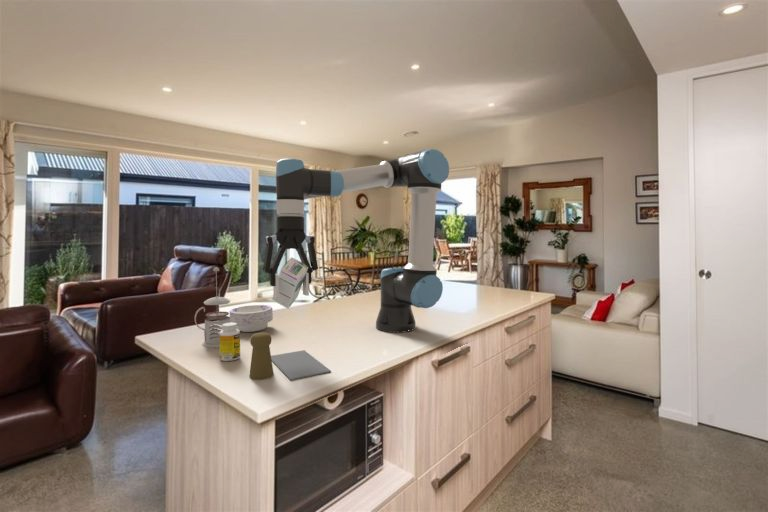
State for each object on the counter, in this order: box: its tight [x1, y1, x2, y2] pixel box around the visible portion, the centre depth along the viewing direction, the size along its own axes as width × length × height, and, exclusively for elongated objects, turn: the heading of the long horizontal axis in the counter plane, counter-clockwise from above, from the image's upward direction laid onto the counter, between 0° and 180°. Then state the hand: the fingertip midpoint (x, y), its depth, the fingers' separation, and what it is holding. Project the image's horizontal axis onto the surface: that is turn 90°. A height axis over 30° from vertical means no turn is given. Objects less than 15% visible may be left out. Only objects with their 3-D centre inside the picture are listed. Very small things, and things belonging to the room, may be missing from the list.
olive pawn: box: [249, 331, 275, 381], centre depth 100 cm, size 6×6×11 cm
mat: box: [271, 349, 332, 382], centre depth 108 cm, size 20×11×1 cm, turn 32°
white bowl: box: [228, 304, 274, 333], centre depth 145 cm, size 15×15×8 cm
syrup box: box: [271, 257, 308, 309], centre depth 112 cm, size 6×6×14 cm
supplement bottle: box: [219, 322, 241, 362], centre depth 113 cm, size 6×6×10 cm
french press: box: [194, 266, 231, 348], centre depth 127 cm, size 10×12×25 cm
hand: (291, 296), depth 111 cm, fingers closed on syrup box, 8 cm apart
